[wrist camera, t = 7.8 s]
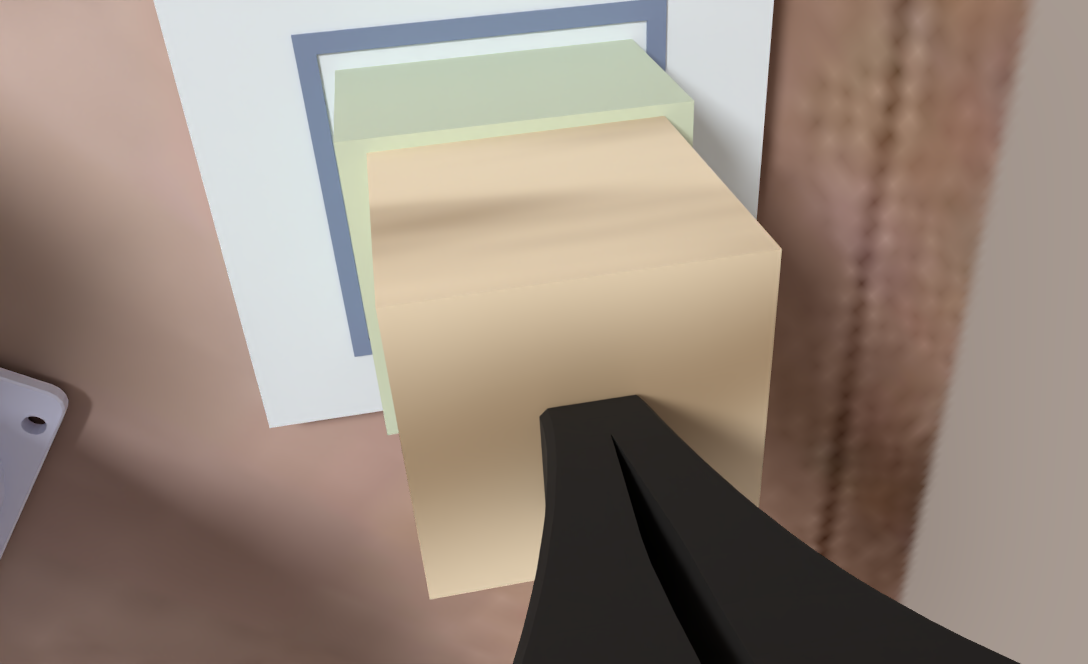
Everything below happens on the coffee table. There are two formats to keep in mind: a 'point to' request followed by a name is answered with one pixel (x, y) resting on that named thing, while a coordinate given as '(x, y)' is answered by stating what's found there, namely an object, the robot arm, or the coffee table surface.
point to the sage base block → (483, 120)
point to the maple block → (559, 319)
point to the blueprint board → (310, 161)
